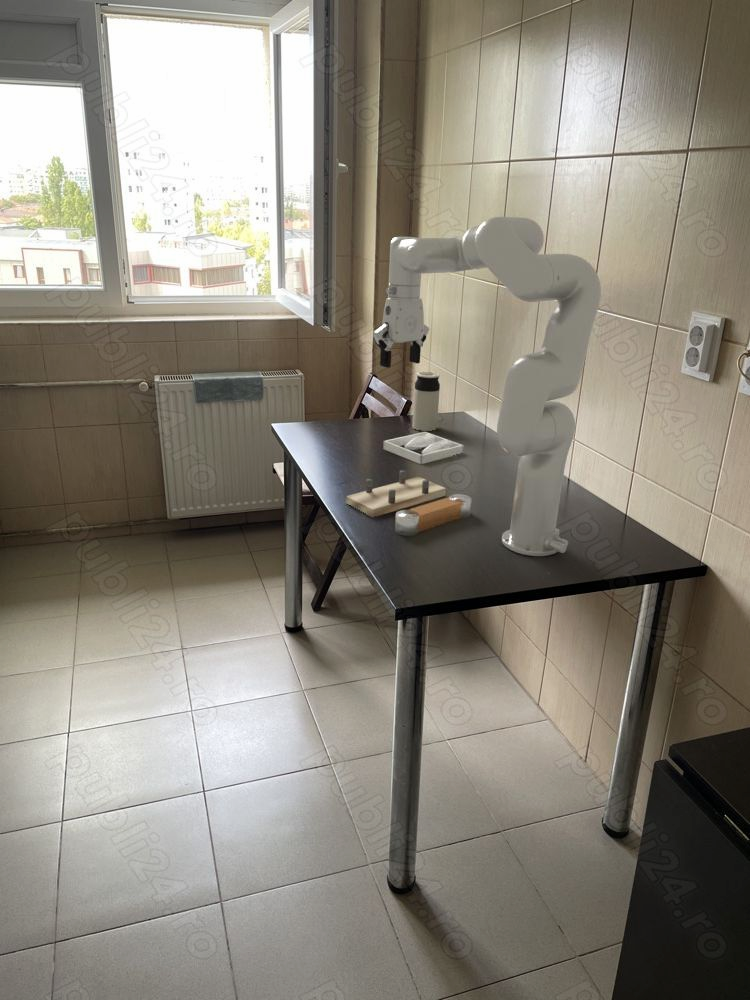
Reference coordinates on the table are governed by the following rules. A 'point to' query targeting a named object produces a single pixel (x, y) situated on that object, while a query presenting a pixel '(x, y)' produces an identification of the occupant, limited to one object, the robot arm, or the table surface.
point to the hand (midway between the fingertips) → (400, 364)
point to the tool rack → (394, 495)
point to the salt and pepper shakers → (427, 444)
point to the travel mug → (426, 401)
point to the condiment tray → (395, 448)
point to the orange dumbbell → (432, 514)
